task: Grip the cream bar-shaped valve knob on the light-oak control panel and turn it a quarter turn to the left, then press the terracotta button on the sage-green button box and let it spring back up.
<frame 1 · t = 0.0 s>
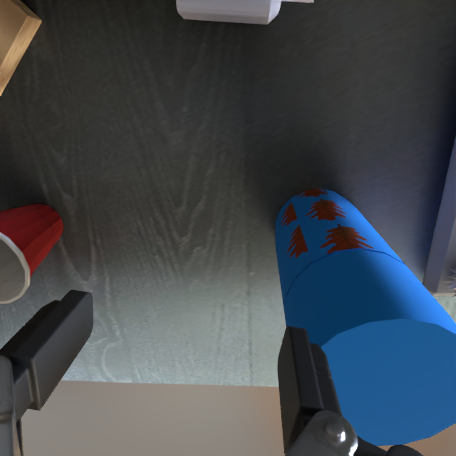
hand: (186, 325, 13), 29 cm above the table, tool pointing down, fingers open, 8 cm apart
plastic cup: (45, 223, 45), on the table
thermos: (314, 226, 42), on the table
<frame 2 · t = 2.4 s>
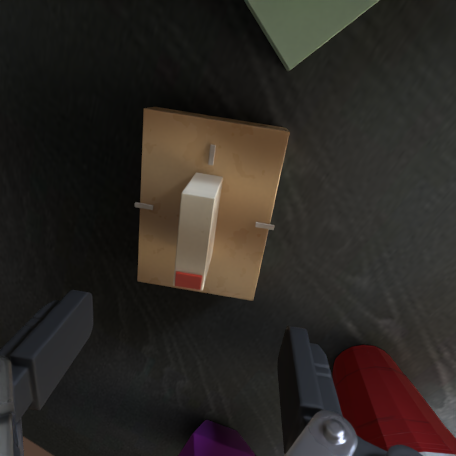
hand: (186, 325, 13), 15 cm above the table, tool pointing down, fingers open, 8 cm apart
perfume bottle: (215, 433, 38), on the table
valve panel: (208, 204, 27), on the table
knob: (198, 229, 22), point 5 cm above the table, hinge at 0.0°
plastic cup: (361, 366, 33), on the table
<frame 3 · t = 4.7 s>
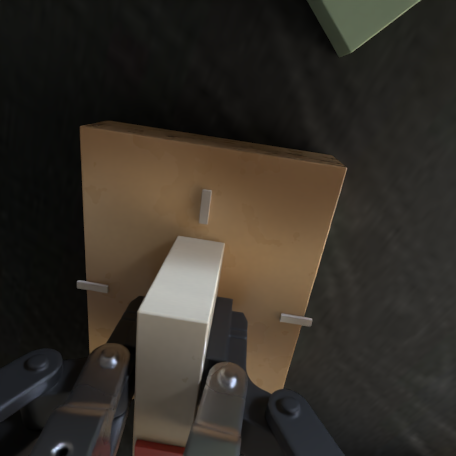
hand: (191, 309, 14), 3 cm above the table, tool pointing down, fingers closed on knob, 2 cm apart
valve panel: (202, 273, 17), on the table
knob: (181, 344, 12), point 5 cm above the table, hinge at 0.0°, touching gripper
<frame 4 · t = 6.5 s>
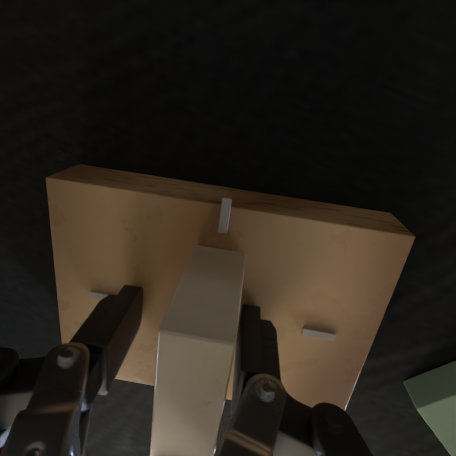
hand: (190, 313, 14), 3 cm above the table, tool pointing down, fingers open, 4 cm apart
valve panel: (218, 282, 16), on the table
knob: (200, 361, 11), point 5 cm above the table, hinge at 89.6°
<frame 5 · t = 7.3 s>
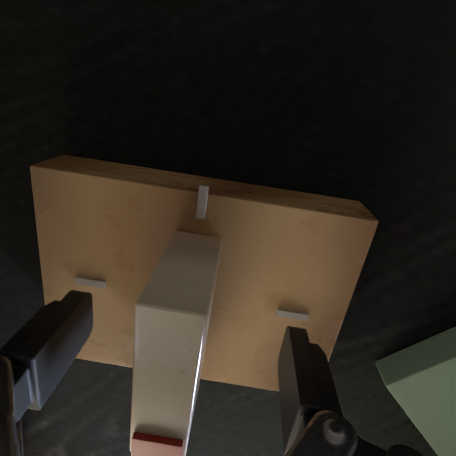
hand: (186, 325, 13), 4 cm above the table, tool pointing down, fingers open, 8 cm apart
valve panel: (199, 269, 17), on the table
knob: (178, 338, 12), point 5 cm above the table, hinge at 89.6°
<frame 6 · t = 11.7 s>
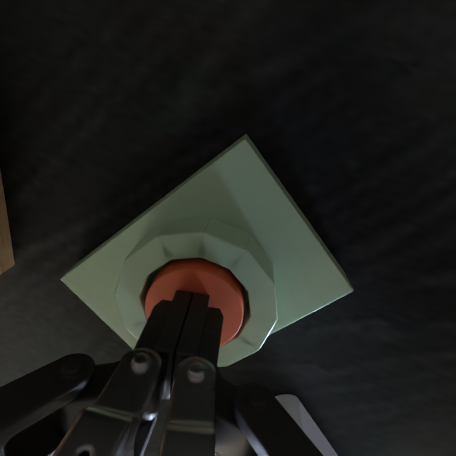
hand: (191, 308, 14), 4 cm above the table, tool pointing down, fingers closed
button box: (206, 268, 18), on the table
button: (197, 300, 15), point 3 cm above the table, slide at -0.9 cm, touching gripper
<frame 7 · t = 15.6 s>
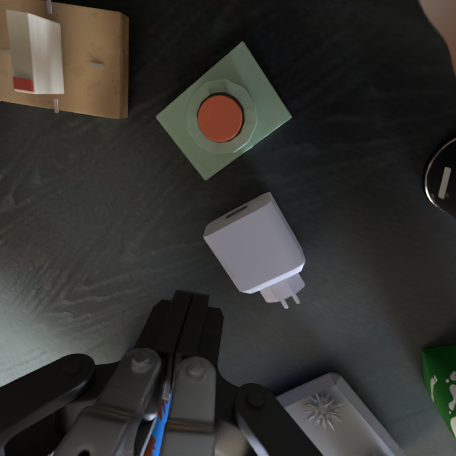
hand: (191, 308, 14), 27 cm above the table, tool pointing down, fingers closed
milk carton: (447, 361, 48), on the table
button box: (223, 115, 36), on the table
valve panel: (66, 60, 35), on the table
knob: (37, 56, 31), point 5 cm above the table, hinge at 89.6°
charger: (265, 252, 43), on the table
thermos: (151, 369, 53), on the table
decorative tray: (284, 444, 58), on the table
button: (220, 118, 33), point 4 cm above the table, slide at 0.1 cm
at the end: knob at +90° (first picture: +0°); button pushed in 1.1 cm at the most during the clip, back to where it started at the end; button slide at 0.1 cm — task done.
